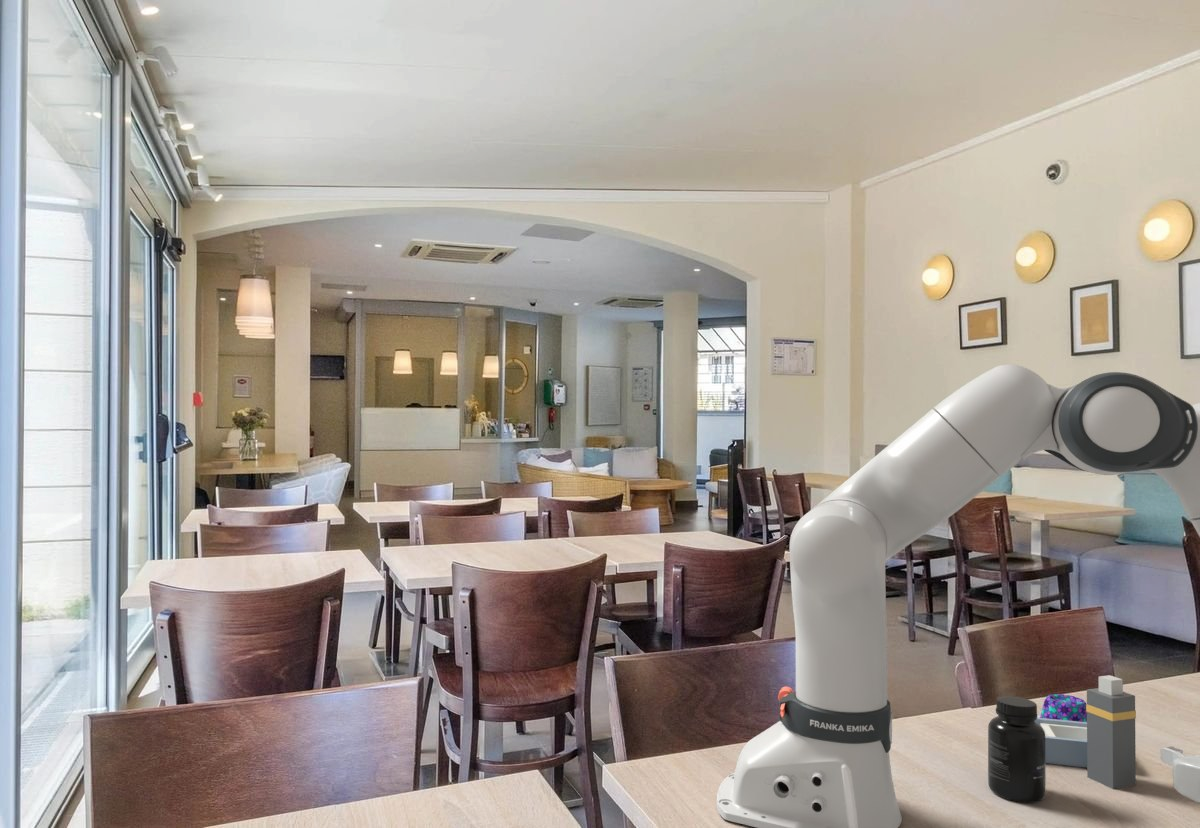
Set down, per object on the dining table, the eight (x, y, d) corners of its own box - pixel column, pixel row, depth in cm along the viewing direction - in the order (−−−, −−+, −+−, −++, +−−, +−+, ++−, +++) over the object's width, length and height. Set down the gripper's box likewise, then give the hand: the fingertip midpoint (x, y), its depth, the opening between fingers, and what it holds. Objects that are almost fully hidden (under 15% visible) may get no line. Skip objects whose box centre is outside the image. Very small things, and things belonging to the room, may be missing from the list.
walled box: (1009, 759, 122) (1009, 734, 122) (999, 737, 130) (999, 714, 130) (1119, 771, 118) (1119, 745, 118) (1101, 747, 126) (1101, 723, 126)
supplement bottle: (1053, 806, 107) (1052, 711, 107) (995, 801, 108) (995, 708, 108) (1036, 784, 113) (1036, 695, 113) (982, 779, 115) (982, 691, 115)
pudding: (1007, 725, 137) (1007, 692, 137) (1058, 715, 142) (1058, 683, 142) (1075, 751, 126) (1074, 715, 126) (1127, 739, 131) (1127, 705, 131)
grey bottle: (1113, 789, 112) (1112, 683, 112) (1086, 776, 116) (1086, 675, 116) (1136, 785, 113) (1135, 680, 113) (1109, 773, 117) (1108, 672, 117)
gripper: (1381, 752, 94) (1252, 713, 107) (1250, 777, 88) (1130, 732, 101) (1383, 809, 94) (1253, 763, 107) (1251, 838, 88) (1131, 785, 101)
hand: (1193, 748), depth 104 cm, fingers open, 8 cm apart
